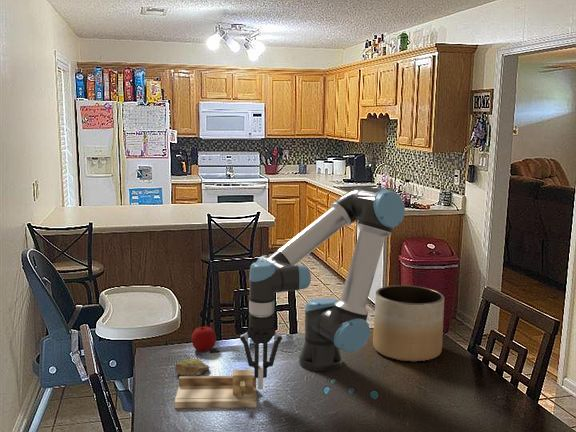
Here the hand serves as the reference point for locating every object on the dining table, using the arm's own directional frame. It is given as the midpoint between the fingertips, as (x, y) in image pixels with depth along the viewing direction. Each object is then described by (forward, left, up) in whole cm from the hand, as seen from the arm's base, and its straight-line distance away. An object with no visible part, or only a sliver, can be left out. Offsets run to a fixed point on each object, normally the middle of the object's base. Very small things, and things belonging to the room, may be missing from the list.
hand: (260, 387), depth 177 cm
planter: (-56, -37, -4) cm, 67 cm away
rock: (+22, -20, -4) cm, 30 cm away
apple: (+20, -39, -4) cm, 44 cm away
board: (+13, 0, -3) cm, 14 cm away
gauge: (+5, +2, -1) cm, 6 cm away
